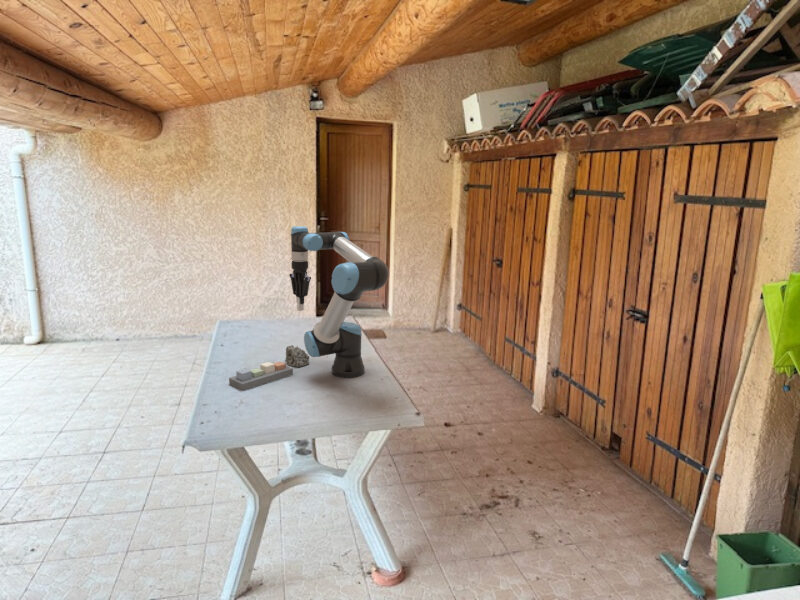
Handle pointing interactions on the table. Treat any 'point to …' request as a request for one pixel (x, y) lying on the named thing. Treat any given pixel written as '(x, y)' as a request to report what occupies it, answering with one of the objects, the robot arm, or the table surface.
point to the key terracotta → (279, 366)
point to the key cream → (267, 367)
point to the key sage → (256, 372)
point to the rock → (296, 356)
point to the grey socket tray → (260, 379)
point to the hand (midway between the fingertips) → (300, 310)
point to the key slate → (243, 375)
